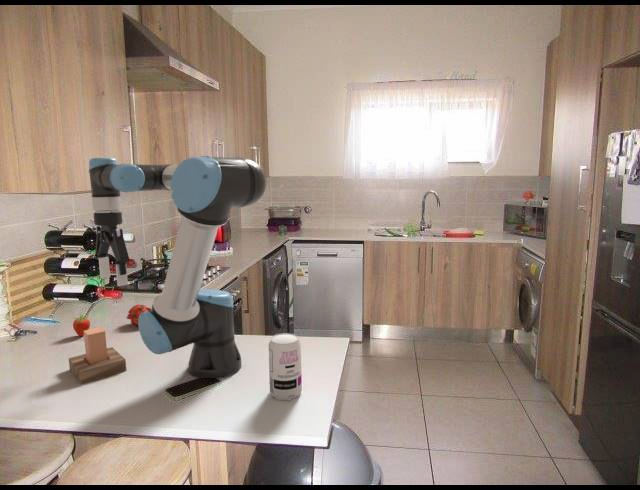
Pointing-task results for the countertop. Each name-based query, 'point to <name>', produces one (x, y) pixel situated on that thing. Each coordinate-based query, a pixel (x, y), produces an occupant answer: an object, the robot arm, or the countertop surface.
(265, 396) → the countertop surface
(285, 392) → the supplement can
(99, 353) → the peg
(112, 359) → the socket
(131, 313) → the dragon fruit
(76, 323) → the fruit
